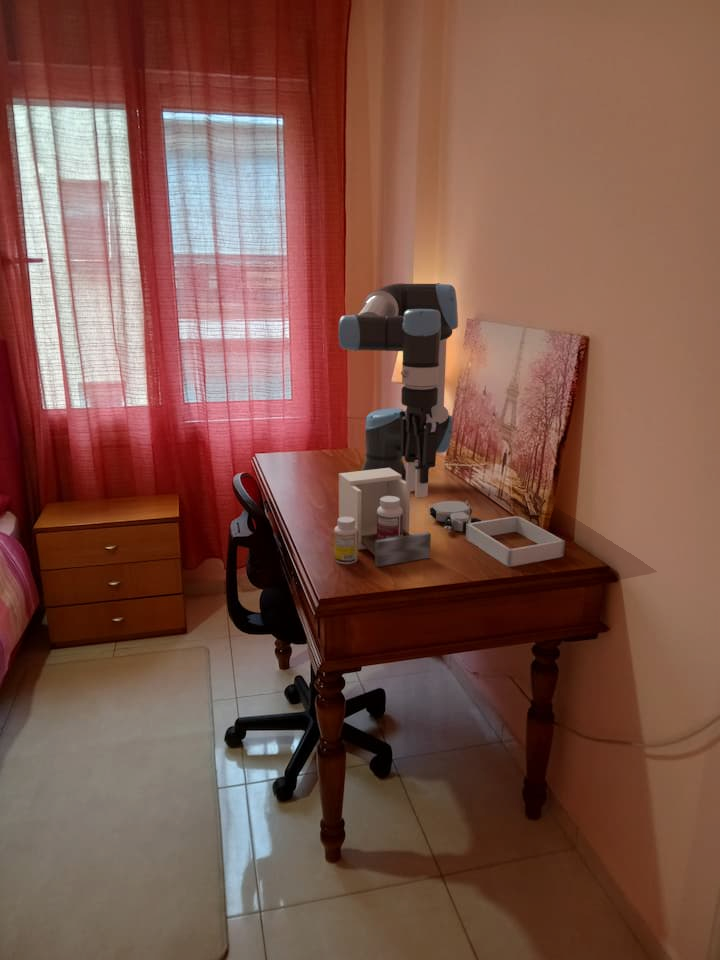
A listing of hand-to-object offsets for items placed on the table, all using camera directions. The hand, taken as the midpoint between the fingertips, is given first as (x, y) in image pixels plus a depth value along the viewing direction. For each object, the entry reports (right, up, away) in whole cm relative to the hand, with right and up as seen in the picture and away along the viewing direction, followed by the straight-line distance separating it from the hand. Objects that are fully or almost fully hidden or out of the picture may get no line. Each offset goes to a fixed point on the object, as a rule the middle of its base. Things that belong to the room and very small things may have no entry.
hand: (416, 493), depth 148 cm
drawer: (-4, -14, +15) cm, 21 cm away
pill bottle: (-5, -12, +16) cm, 21 cm away
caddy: (-9, -12, +25) cm, 29 cm away
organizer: (+25, -14, +19) cm, 35 cm away
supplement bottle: (-15, -16, +11) cm, 25 cm away
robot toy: (+13, -9, +34) cm, 38 cm away
